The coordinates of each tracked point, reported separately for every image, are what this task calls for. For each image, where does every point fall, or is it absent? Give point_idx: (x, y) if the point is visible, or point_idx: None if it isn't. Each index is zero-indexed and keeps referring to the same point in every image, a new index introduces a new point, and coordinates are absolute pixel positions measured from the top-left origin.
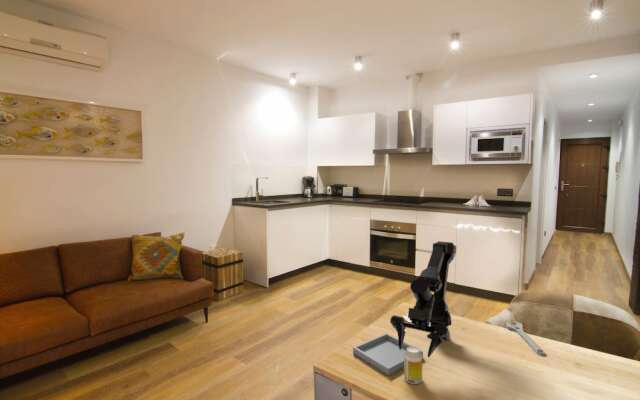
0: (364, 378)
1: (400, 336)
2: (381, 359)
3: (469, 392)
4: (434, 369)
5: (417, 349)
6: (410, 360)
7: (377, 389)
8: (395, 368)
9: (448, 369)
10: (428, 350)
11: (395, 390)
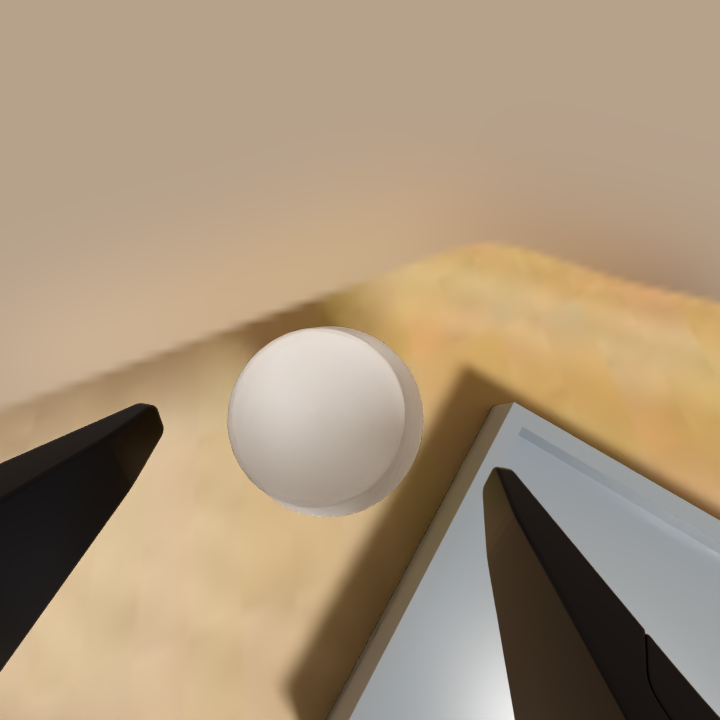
0: (614, 335)
1: (623, 663)
2: (604, 579)
3: (47, 409)
4: (224, 594)
5: (253, 423)
6: (345, 328)
7: (511, 269)
8: (471, 464)
9: (130, 630)
10: (97, 443)
11: (422, 292)
